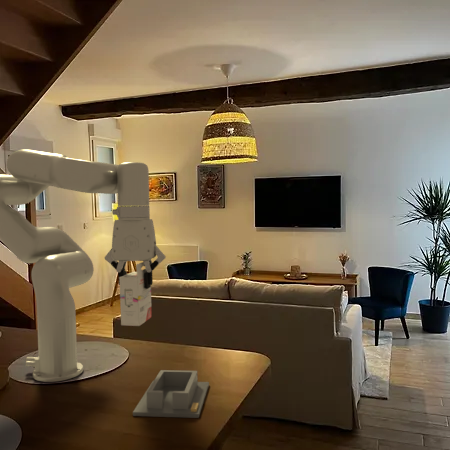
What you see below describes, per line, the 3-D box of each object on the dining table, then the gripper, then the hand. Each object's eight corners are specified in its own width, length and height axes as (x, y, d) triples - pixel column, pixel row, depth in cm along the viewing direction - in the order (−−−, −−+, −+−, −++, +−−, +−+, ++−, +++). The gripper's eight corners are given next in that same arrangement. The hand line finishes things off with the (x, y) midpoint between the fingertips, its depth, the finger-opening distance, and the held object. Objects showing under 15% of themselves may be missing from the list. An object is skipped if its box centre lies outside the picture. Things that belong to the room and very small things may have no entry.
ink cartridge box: (133, 316, 116) (132, 259, 115) (152, 317, 115) (151, 259, 114) (119, 325, 107) (118, 264, 107) (139, 326, 106) (138, 264, 106)
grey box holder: (132, 415, 95) (132, 395, 95) (153, 383, 112) (152, 366, 112) (198, 417, 94) (198, 397, 94) (208, 385, 111) (208, 368, 111)
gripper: (93, 214, 107) (96, 290, 108) (165, 213, 105) (166, 290, 106) (105, 213, 114) (107, 285, 115) (171, 213, 113) (173, 285, 114)
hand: (135, 287), depth 111 cm, fingers closed on ink cartridge box, 5 cm apart
